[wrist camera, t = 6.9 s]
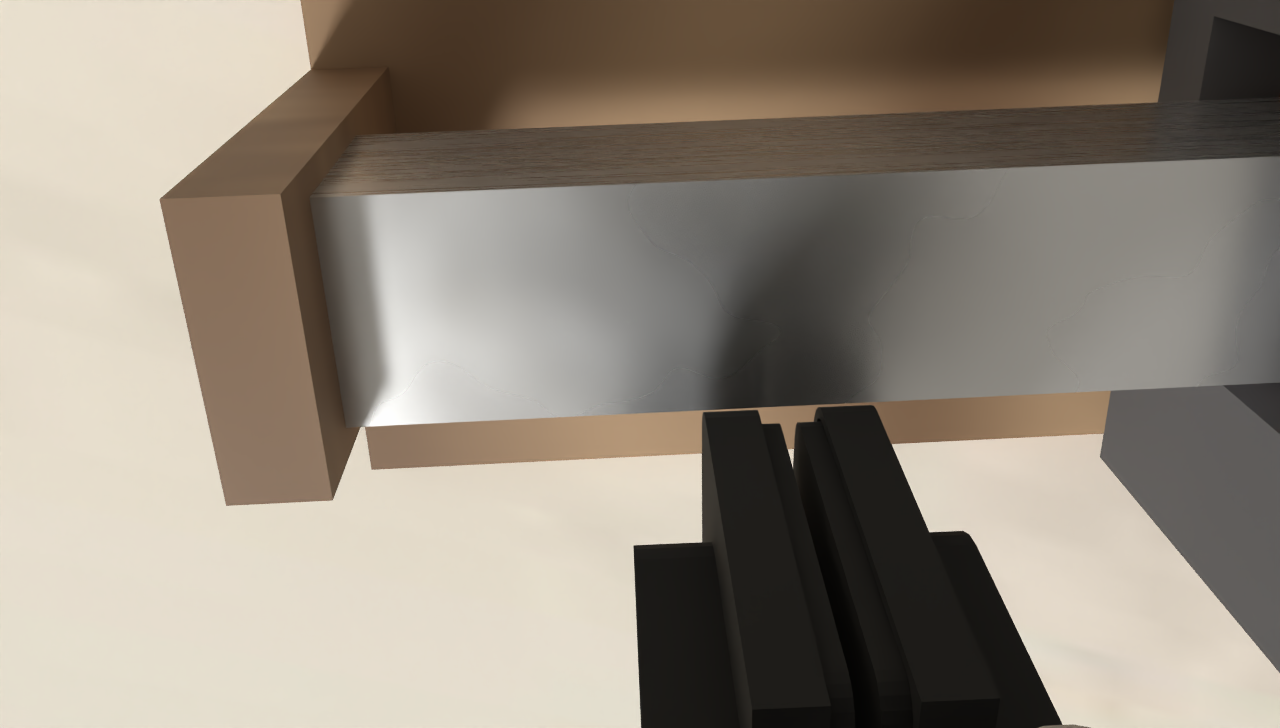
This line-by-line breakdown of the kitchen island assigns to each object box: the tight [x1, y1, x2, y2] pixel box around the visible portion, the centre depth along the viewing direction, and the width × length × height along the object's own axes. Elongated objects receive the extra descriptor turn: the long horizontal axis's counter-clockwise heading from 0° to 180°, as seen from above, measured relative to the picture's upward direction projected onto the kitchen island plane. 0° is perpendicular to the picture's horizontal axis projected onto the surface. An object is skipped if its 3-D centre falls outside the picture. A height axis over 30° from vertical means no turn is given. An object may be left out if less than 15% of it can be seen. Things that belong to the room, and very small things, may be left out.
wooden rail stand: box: [160, 0, 1174, 506], centre depth 13 cm, size 18×9×7 cm, turn 92°
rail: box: [310, 95, 1280, 428], centre depth 12 cm, size 17×3×3 cm, turn 92°
